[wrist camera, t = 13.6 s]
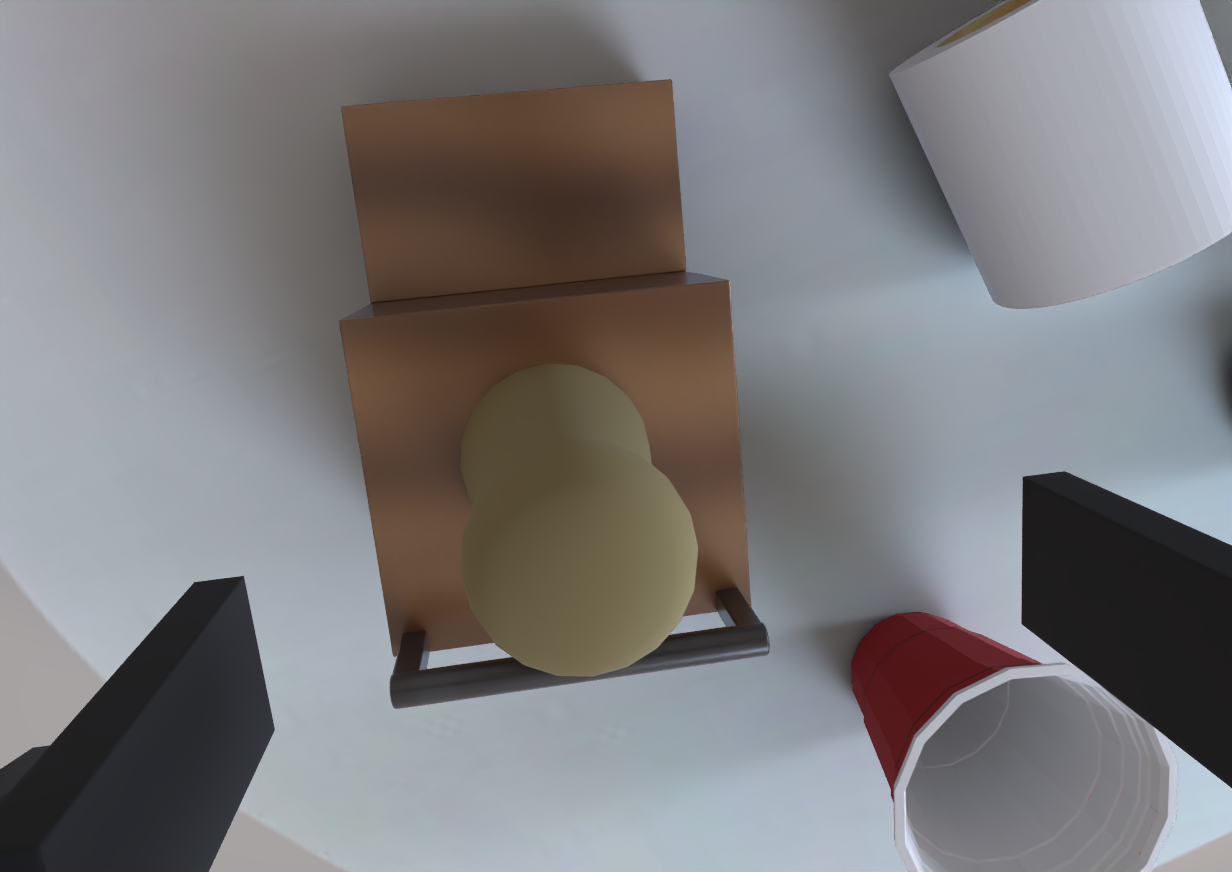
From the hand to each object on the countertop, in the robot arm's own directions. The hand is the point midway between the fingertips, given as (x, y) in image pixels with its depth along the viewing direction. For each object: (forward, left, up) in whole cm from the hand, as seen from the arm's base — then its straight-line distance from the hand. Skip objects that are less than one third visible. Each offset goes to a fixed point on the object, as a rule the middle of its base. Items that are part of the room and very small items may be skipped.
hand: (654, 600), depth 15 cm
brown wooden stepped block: (-2, -1, -25) cm, 25 cm away
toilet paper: (-8, +20, -25) cm, 33 cm away
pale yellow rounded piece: (+1, -1, -14) cm, 14 cm away
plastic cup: (+16, +15, -25) cm, 34 cm away
